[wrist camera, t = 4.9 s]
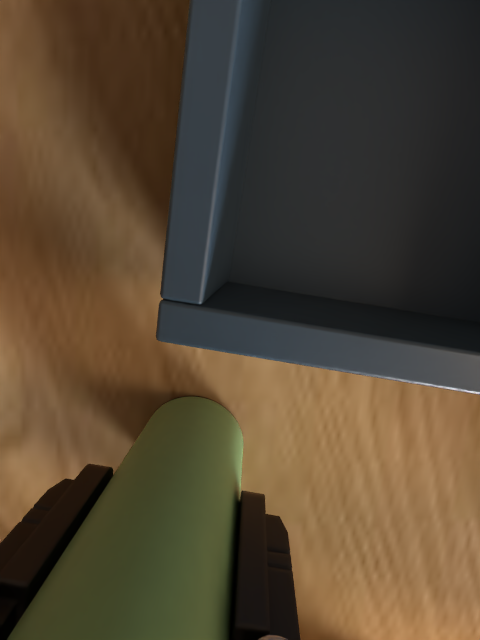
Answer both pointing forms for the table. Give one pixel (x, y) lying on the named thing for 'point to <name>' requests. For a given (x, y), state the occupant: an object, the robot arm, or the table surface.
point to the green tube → (153, 539)
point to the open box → (329, 187)
